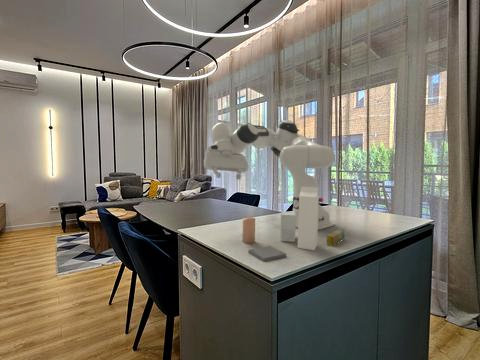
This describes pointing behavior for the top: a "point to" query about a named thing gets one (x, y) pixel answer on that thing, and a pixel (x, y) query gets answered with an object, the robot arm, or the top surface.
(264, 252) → the coaster
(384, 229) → the top surface
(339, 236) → the medication box
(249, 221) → the tan round cylinder
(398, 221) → the top surface
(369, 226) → the top surface
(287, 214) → the small box
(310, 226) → the milk
